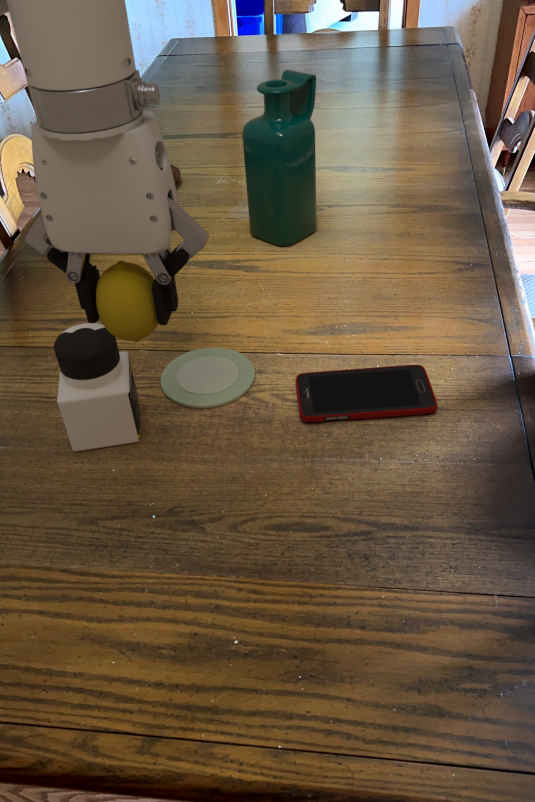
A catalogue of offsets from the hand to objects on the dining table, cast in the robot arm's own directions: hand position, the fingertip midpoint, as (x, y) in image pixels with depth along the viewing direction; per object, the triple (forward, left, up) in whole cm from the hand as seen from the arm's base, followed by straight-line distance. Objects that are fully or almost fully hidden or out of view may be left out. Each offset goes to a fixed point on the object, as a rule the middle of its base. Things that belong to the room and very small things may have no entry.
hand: (131, 313), depth 63 cm
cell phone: (+21, +10, -17) cm, 29 cm away
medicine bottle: (-7, +4, -17) cm, 19 cm away
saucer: (+3, +13, -17) cm, 22 cm away
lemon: (0, 0, -3) cm, 3 cm away
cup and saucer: (-17, +67, -17) cm, 71 cm away
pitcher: (+9, +50, -17) cm, 54 cm away
